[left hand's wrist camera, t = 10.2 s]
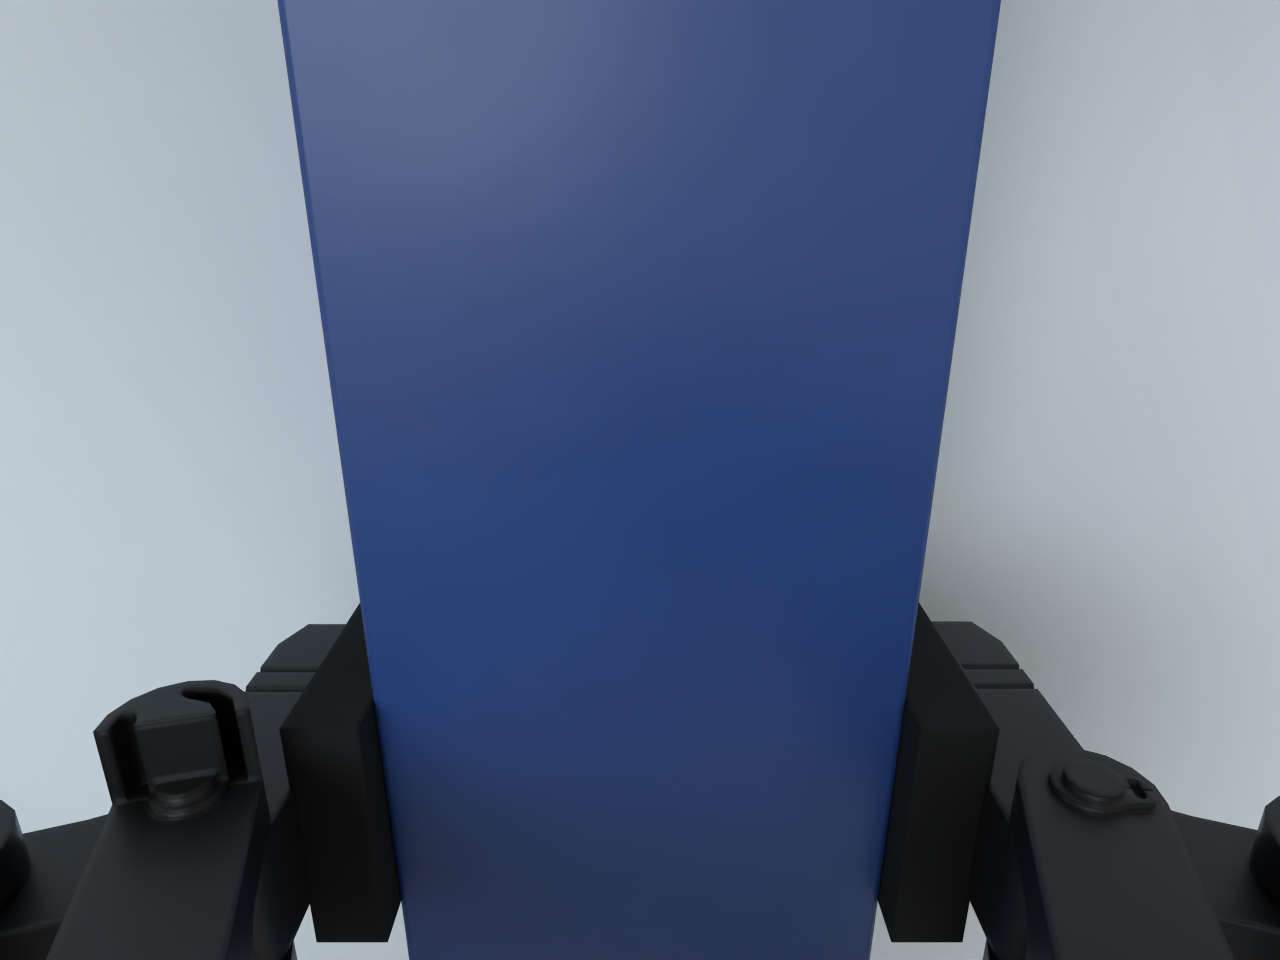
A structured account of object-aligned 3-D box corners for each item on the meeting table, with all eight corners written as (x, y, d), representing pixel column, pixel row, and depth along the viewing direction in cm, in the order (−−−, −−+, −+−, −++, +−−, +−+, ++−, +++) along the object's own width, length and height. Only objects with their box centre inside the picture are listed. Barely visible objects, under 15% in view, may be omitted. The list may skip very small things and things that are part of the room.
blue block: (450, -288, 12) (126, -1031, 4) (828, -287, 12) (1150, -1026, 4) (515, 710, 18) (427, 1109, 11) (764, 710, 18) (853, 1110, 11)
